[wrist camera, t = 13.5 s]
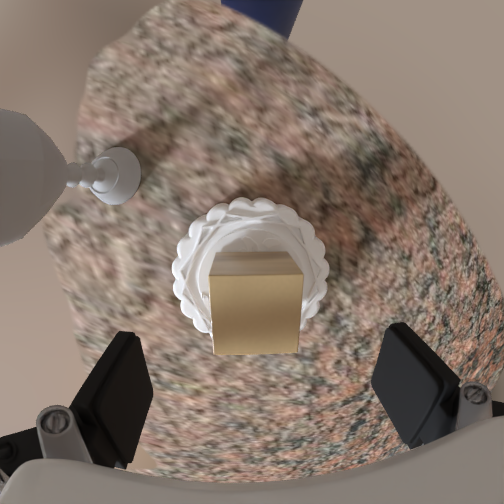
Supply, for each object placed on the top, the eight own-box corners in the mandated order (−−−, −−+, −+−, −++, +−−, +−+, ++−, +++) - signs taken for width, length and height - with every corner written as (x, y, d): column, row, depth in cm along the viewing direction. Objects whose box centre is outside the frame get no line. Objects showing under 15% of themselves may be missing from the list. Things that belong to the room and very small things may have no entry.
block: (215, 251, 19) (207, 275, 14) (287, 251, 19) (304, 273, 14) (218, 317, 20) (213, 355, 15) (285, 315, 20) (297, 352, 15)
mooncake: (333, 211, 22) (349, 216, 19) (300, 337, 25) (309, 358, 21) (189, 185, 21) (180, 185, 17) (173, 319, 24) (165, 339, 20)
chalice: (70, 176, 20) (-100, 193, 3) (118, 119, 19) (-49, 53, 2) (115, 233, 22) (-54, 326, 4) (168, 177, 21) (-18, 173, 3)
